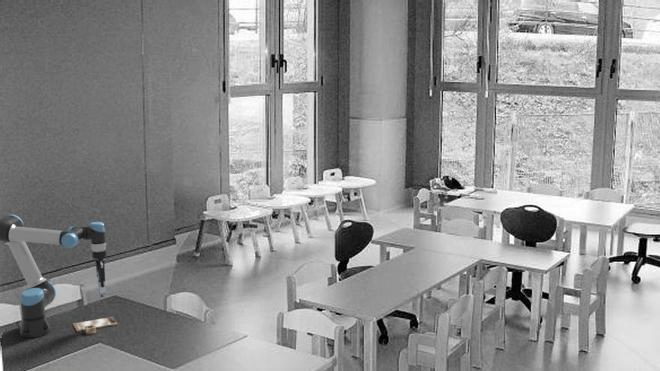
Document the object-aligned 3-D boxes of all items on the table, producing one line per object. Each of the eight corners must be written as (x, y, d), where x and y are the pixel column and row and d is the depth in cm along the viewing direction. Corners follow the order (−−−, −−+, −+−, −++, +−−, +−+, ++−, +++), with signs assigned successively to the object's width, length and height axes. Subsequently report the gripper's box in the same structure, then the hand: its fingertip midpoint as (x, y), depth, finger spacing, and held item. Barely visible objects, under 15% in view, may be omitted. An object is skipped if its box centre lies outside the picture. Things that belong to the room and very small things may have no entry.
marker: (99, 298, 443) (98, 272, 441) (98, 296, 446) (97, 270, 444) (105, 297, 445) (104, 271, 442) (104, 295, 448) (103, 270, 446)
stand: (86, 334, 431) (86, 329, 431) (85, 331, 436) (84, 326, 435) (96, 332, 433) (95, 327, 433) (94, 330, 438) (94, 324, 437)
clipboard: (77, 332, 435) (76, 329, 435) (72, 324, 448) (72, 321, 447) (118, 324, 445) (118, 322, 445) (112, 317, 457) (112, 315, 457)
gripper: (108, 252, 435) (111, 294, 440) (103, 246, 450) (105, 286, 454) (94, 254, 432) (97, 296, 436) (89, 248, 447) (92, 288, 451)
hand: (101, 291), depth 445 cm, fingers closed on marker, 3 cm apart
